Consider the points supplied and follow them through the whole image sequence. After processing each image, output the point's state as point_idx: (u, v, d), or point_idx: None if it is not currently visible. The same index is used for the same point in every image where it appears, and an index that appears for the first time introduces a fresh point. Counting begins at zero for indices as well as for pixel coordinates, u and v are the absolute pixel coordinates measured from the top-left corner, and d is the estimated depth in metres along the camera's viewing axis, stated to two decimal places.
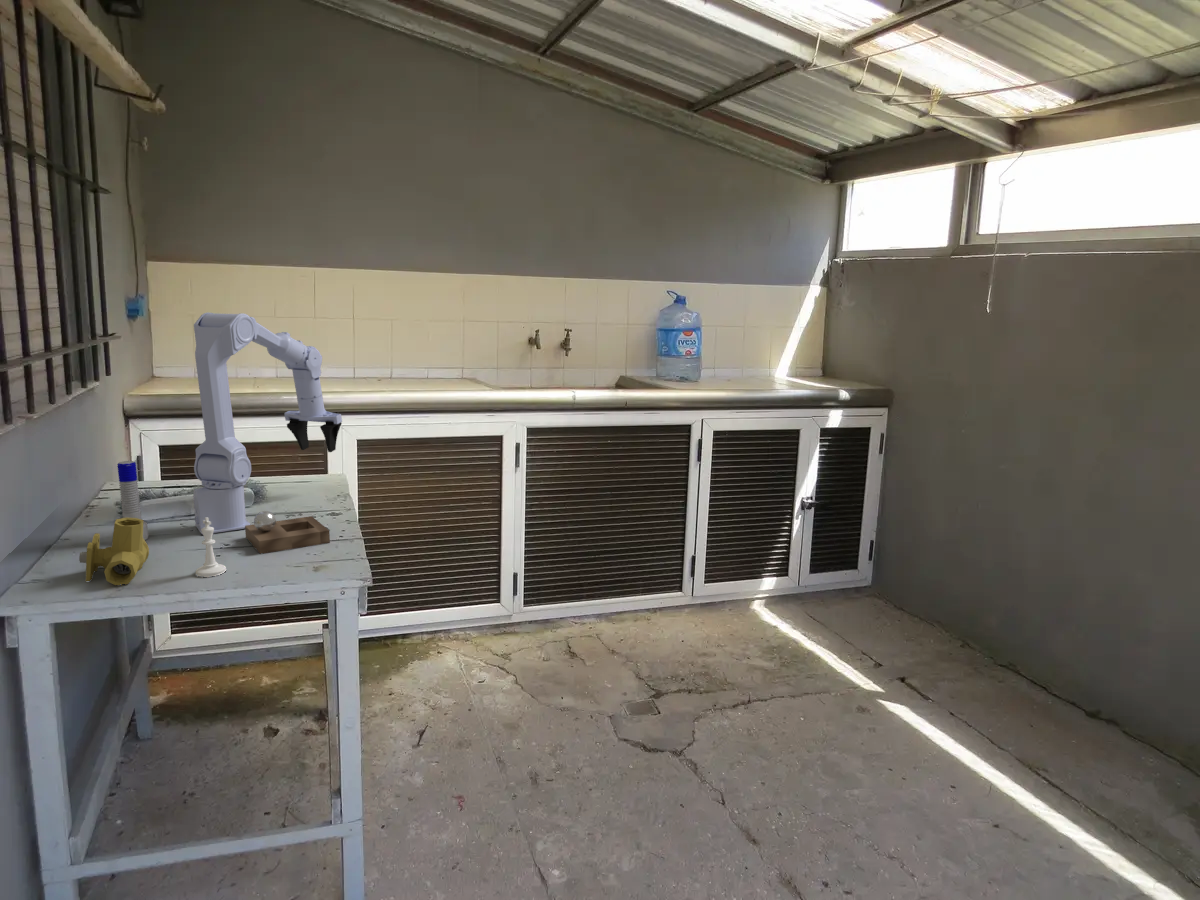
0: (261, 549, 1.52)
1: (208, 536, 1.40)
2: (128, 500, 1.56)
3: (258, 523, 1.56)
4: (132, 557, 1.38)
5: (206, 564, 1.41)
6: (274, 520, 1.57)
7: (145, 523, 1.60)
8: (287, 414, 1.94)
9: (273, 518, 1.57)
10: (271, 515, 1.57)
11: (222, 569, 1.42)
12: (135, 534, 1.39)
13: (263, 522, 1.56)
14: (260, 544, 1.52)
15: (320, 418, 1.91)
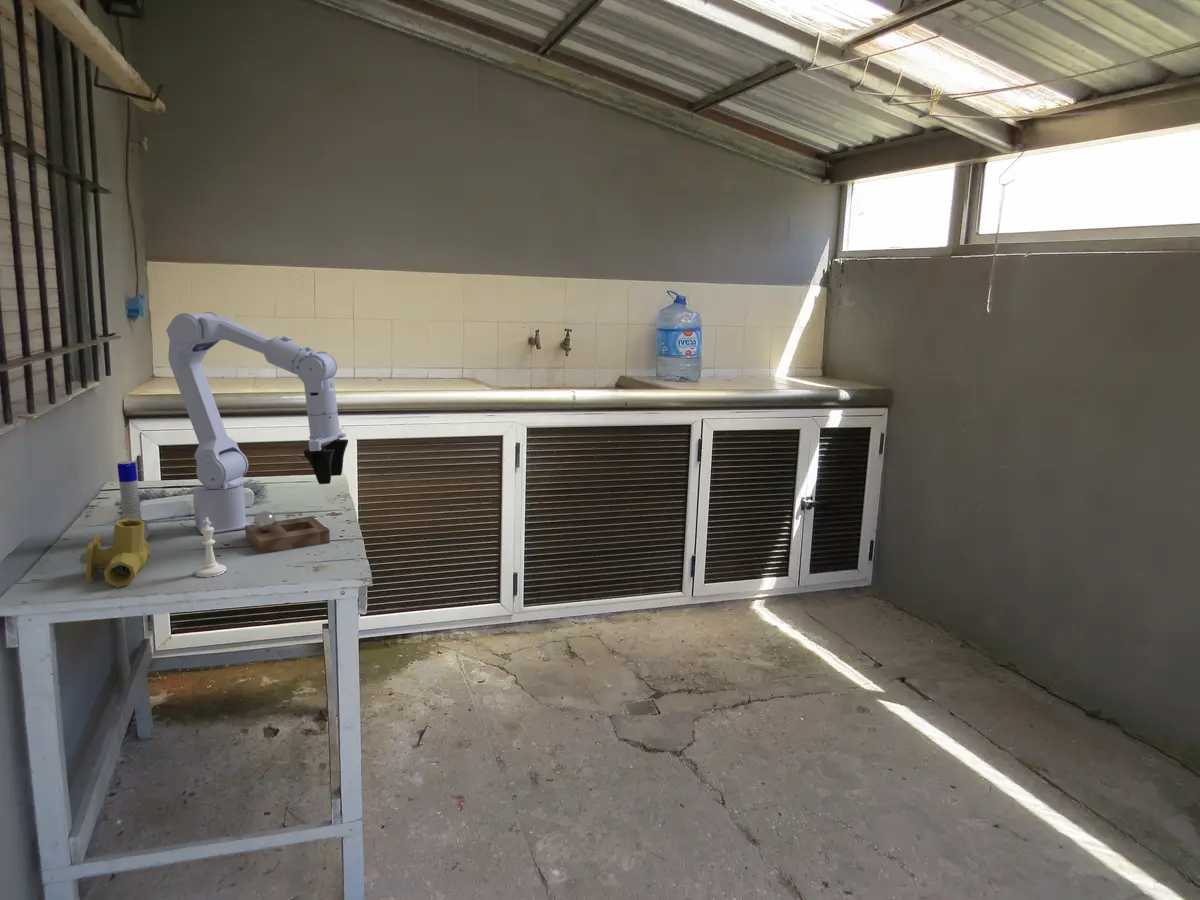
0: (261, 549, 1.52)
1: (208, 536, 1.40)
2: (128, 500, 1.56)
3: (258, 523, 1.56)
4: (132, 558, 1.37)
5: (206, 564, 1.41)
6: (274, 520, 1.57)
7: (145, 523, 1.60)
8: None
9: (273, 518, 1.57)
10: (271, 515, 1.57)
11: (222, 569, 1.42)
12: (135, 535, 1.38)
13: (263, 522, 1.56)
14: (260, 544, 1.52)
15: None
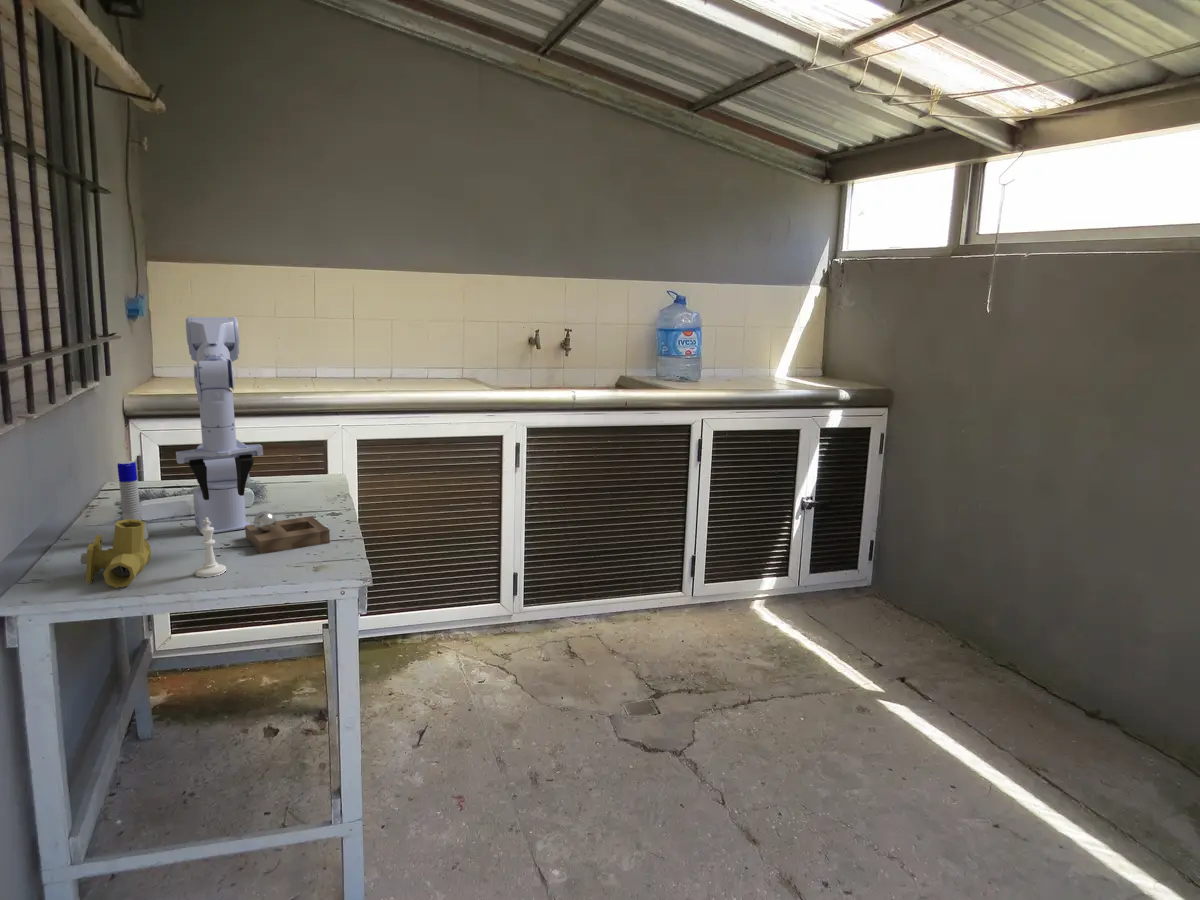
0: (261, 549, 1.52)
1: (208, 536, 1.40)
2: (128, 500, 1.56)
3: (258, 523, 1.56)
4: (132, 559, 1.37)
5: (206, 564, 1.41)
6: (274, 520, 1.57)
7: (145, 523, 1.60)
8: None
9: (273, 518, 1.57)
10: (271, 515, 1.57)
11: (222, 569, 1.42)
12: (135, 536, 1.38)
13: (263, 522, 1.56)
14: (260, 544, 1.52)
15: None
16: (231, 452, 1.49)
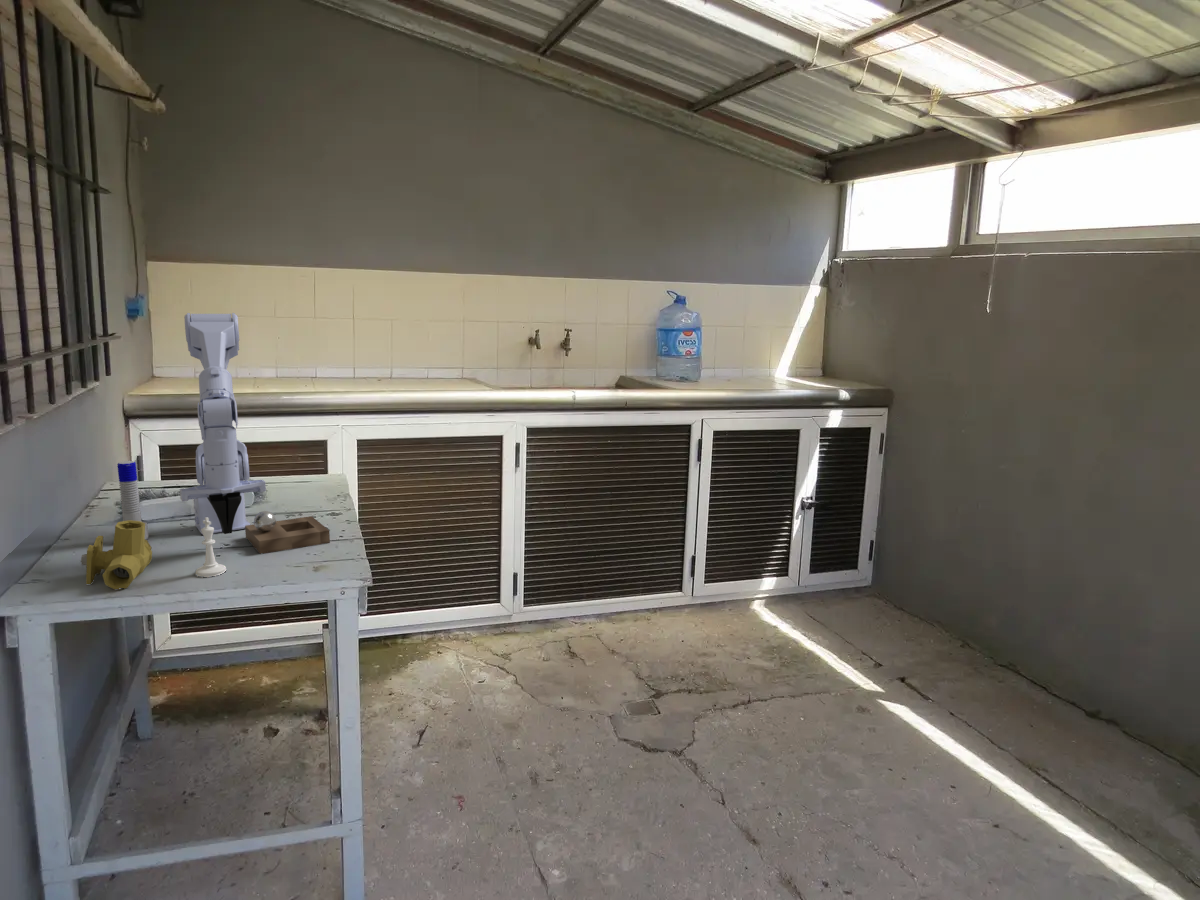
0: (261, 549, 1.52)
1: (208, 536, 1.40)
2: (128, 500, 1.56)
3: (258, 523, 1.56)
4: (132, 561, 1.36)
5: (206, 564, 1.41)
6: (274, 520, 1.57)
7: (145, 523, 1.60)
8: None
9: (273, 518, 1.57)
10: (271, 515, 1.57)
11: (222, 569, 1.42)
12: (135, 537, 1.37)
13: (263, 522, 1.56)
14: (260, 544, 1.52)
15: None
16: (234, 489, 1.51)
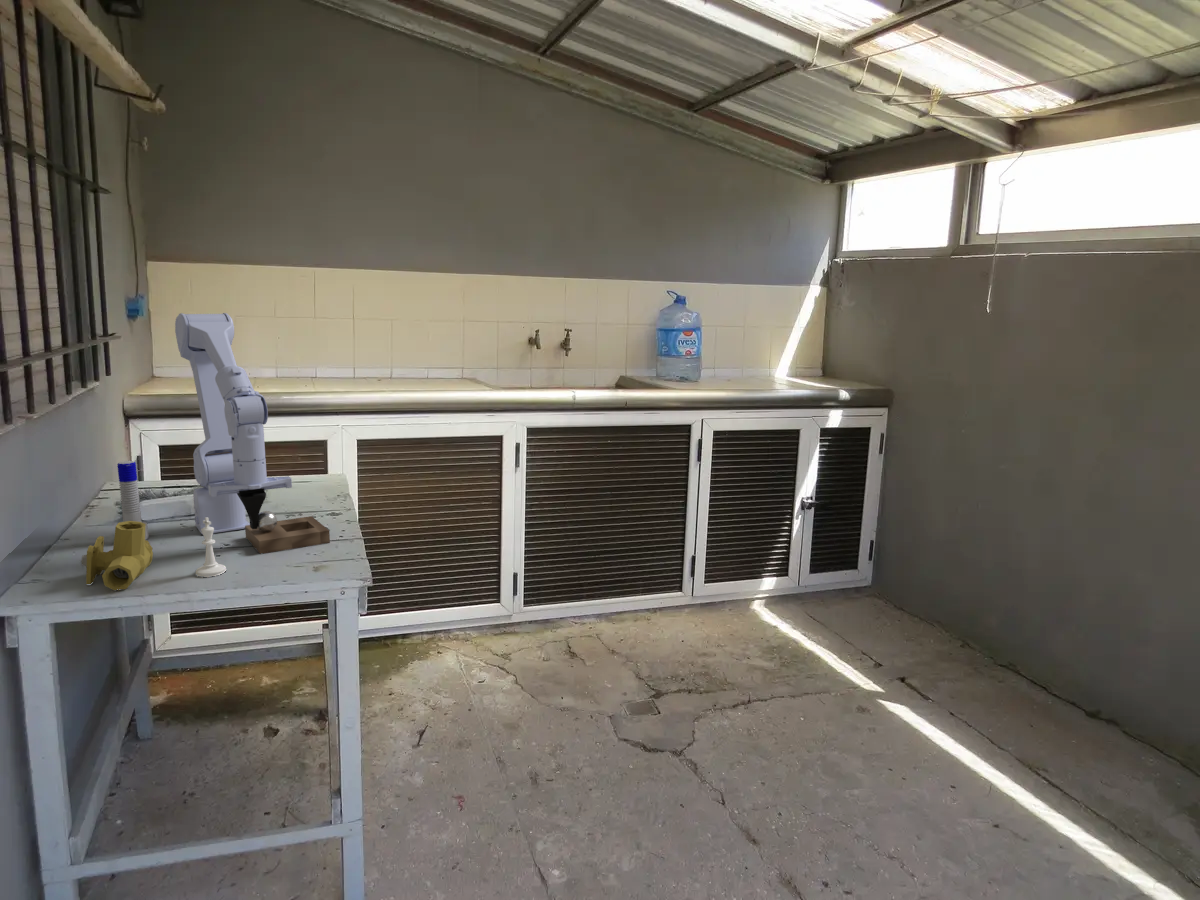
0: (261, 549, 1.52)
1: (208, 536, 1.40)
2: (128, 500, 1.56)
3: (259, 522, 1.56)
4: (131, 562, 1.35)
5: (206, 564, 1.41)
6: (276, 521, 1.58)
7: (145, 523, 1.60)
8: None
9: (275, 519, 1.57)
10: (273, 516, 1.57)
11: (222, 569, 1.42)
12: (135, 538, 1.37)
13: (265, 522, 1.56)
14: (260, 544, 1.52)
15: None
16: (262, 485, 1.53)
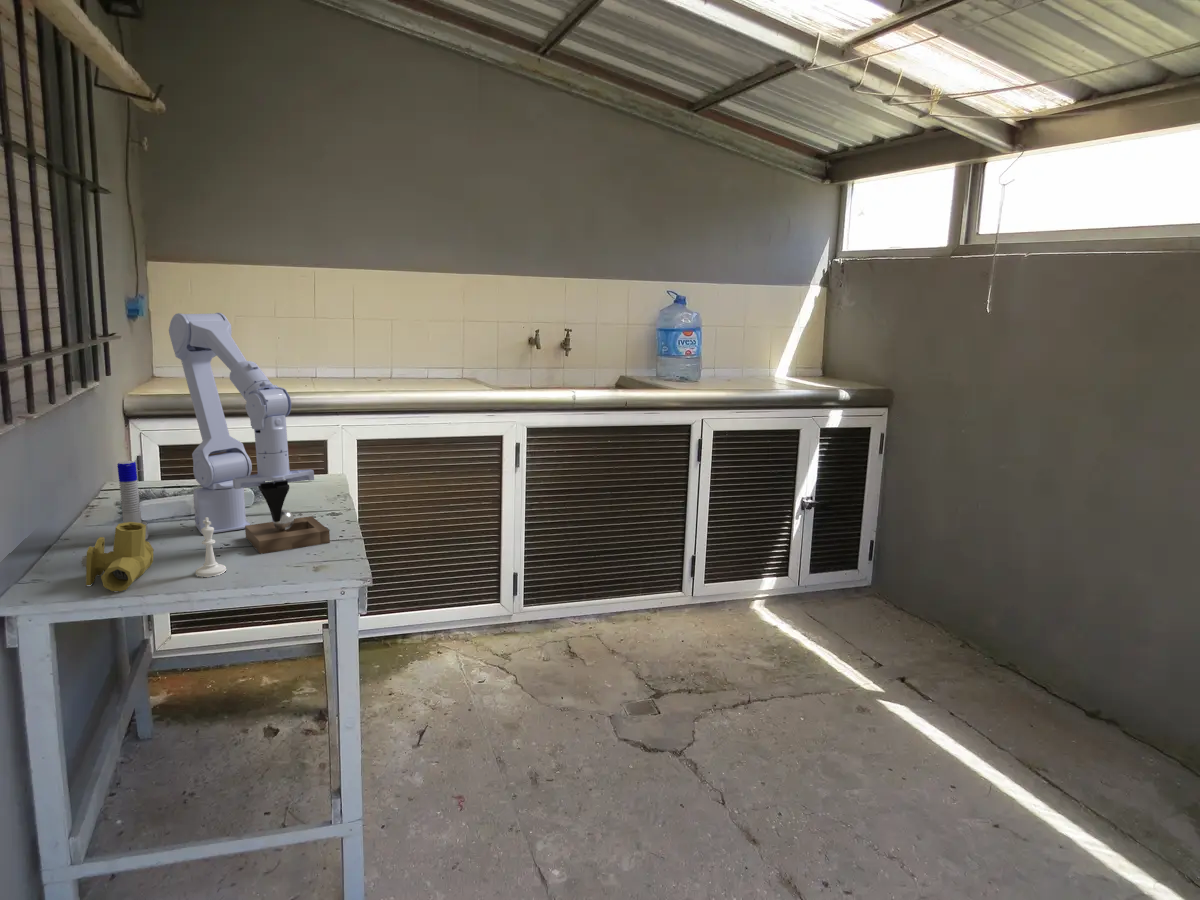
0: (261, 549, 1.52)
1: (208, 536, 1.40)
2: (128, 500, 1.56)
3: (284, 515, 1.58)
4: (131, 563, 1.35)
5: (206, 564, 1.41)
6: (283, 529, 1.58)
7: (145, 523, 1.60)
8: None
9: (286, 528, 1.59)
10: None
11: (222, 569, 1.42)
12: (135, 539, 1.36)
13: (285, 521, 1.57)
14: (260, 544, 1.52)
15: None
16: (285, 477, 1.55)
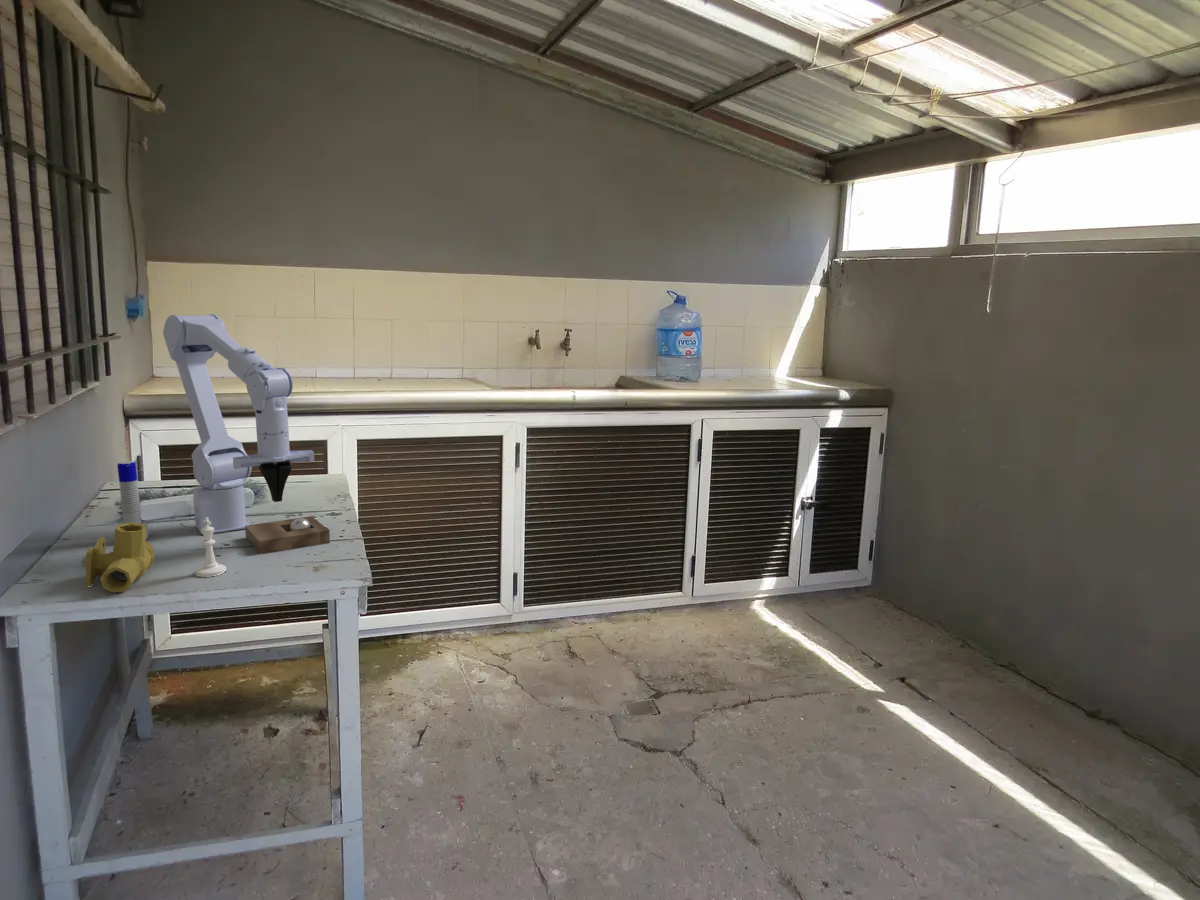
0: (261, 549, 1.52)
1: (208, 536, 1.40)
2: (128, 500, 1.56)
3: None
4: (131, 564, 1.34)
5: (206, 564, 1.41)
6: (296, 523, 1.60)
7: (145, 523, 1.60)
8: None
9: (296, 526, 1.60)
10: (295, 529, 1.60)
11: (222, 569, 1.42)
12: (135, 540, 1.35)
13: (306, 528, 1.61)
14: (260, 544, 1.52)
15: None
16: (285, 458, 1.55)
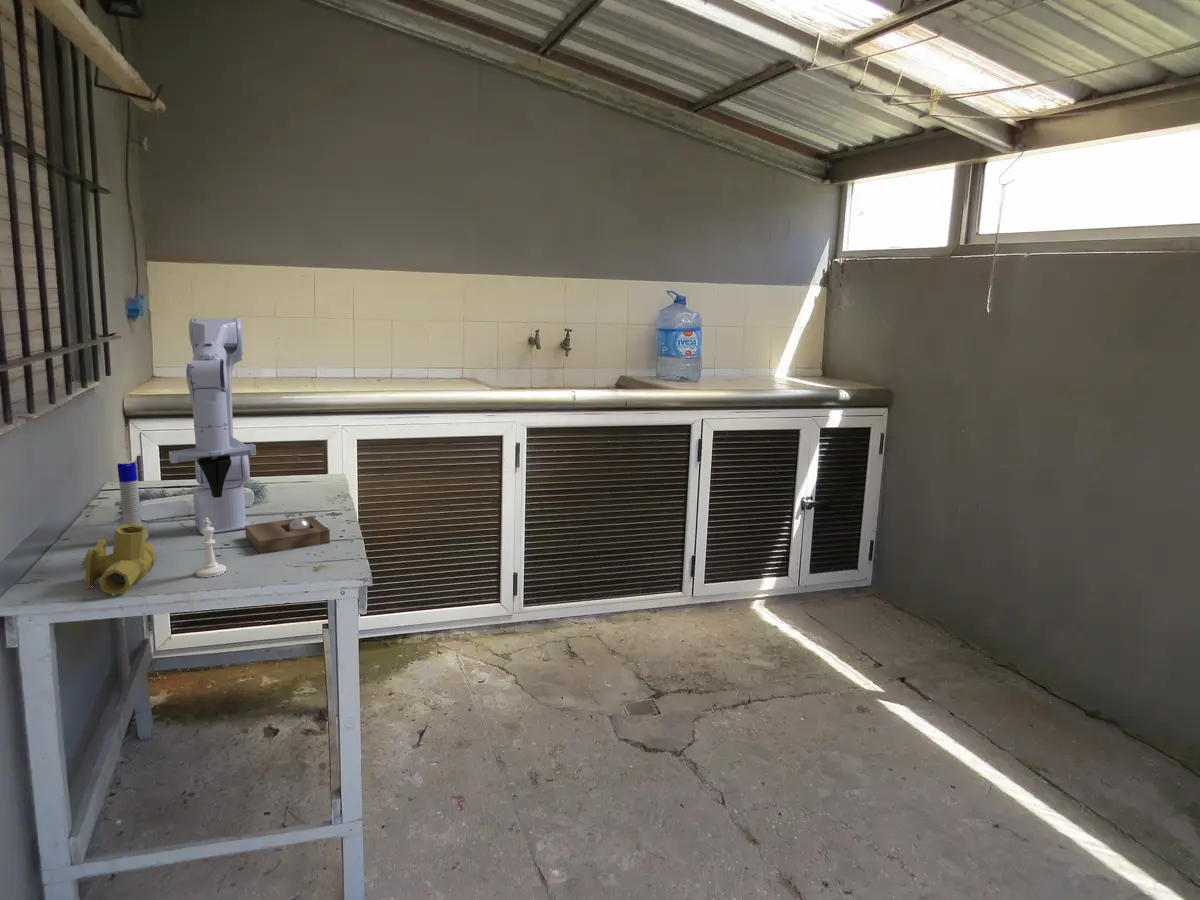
0: (261, 549, 1.52)
1: (208, 536, 1.40)
2: (128, 500, 1.56)
3: None
4: (130, 566, 1.33)
5: (206, 564, 1.41)
6: (294, 524, 1.60)
7: (145, 523, 1.60)
8: None
9: (294, 526, 1.60)
10: (294, 530, 1.60)
11: (222, 569, 1.42)
12: (134, 542, 1.35)
13: (305, 528, 1.61)
14: (260, 544, 1.52)
15: None
16: (224, 452, 1.50)
